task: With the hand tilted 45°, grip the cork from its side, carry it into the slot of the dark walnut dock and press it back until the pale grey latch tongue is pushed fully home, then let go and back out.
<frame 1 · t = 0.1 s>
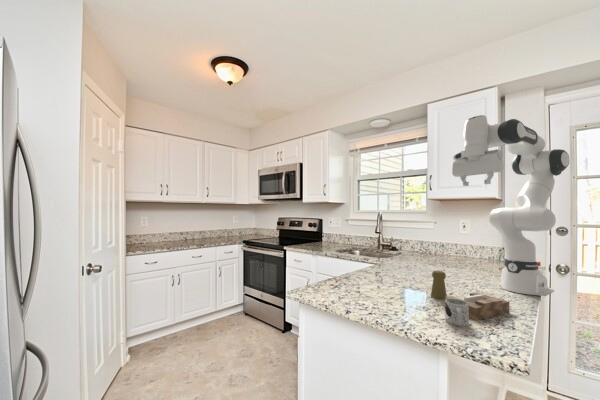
hand: (476, 185, 116), 48 cm above the worktop, tool pointing down, fingers open, 8 cm apart
walnut dock: (476, 310, 99), on the worktop
latch tongue: (474, 302, 100), point 3 cm above the worktop, slide at 3.0 cm
mug: (457, 324, 86), on the worktop
cork: (438, 297, 114), on the worktop
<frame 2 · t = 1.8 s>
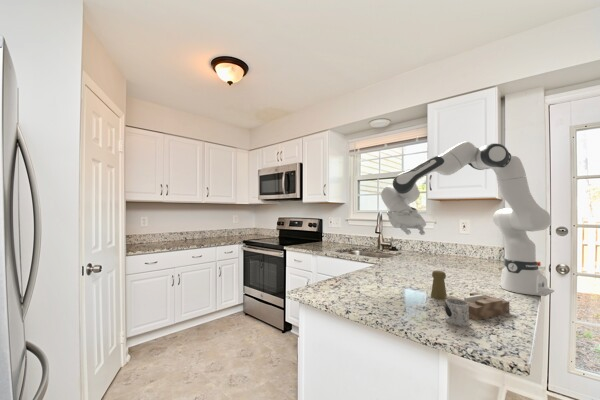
hand: (416, 234, 126), 26 cm above the worktop, tool tilted 45°, fingers open, 8 cm apart
nothing on the worktop moved.
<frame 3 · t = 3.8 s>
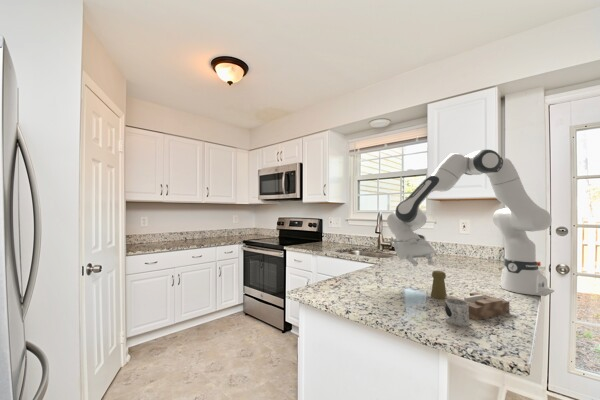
hand: (424, 264, 121), 12 cm above the worktop, tool tilted 45°, fingers open, 8 cm apart
nothing on the worktop moved.
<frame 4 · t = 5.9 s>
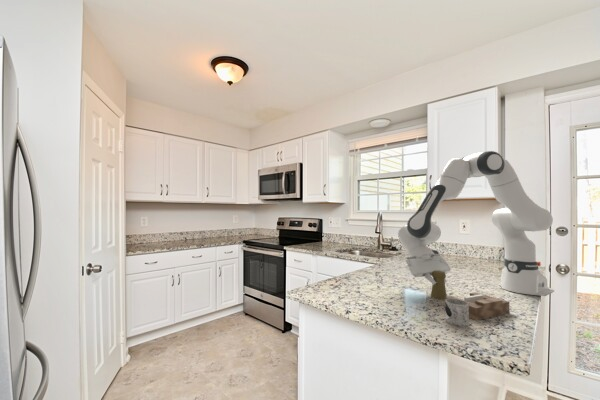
hand: (440, 283, 113), 6 cm above the worktop, tool tilted 45°, fingers closed on cork, 4 cm apart
cork: (438, 297, 114), on the worktop, touching gripper
everything else where it was.
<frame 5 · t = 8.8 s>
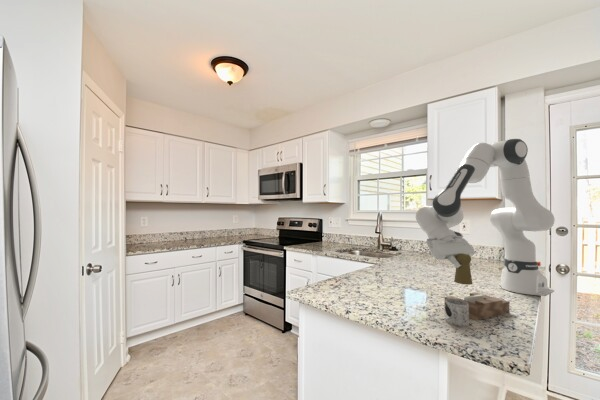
hand: (464, 266, 103), 15 cm above the worktop, tool tilted 45°, fingers closed on cork, 4 cm apart
cork: (463, 282, 104), point 9 cm above the worktop, touching gripper
everything else where it was.
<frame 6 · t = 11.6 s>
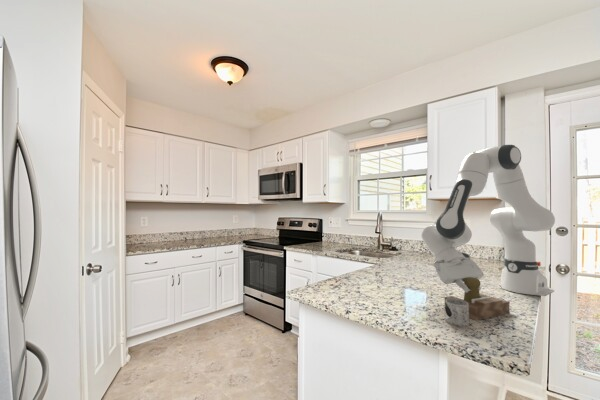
hand: (473, 291, 100), 7 cm above the worktop, tool tilted 45°, fingers closed on cork, 4 cm apart
latch tongue: (481, 304, 97), point 3 cm above the worktop, slide at 0.3 cm, touching cork
cork: (472, 307, 100), on the worktop, touching gripper, latch tongue
everything else where it was.
when the fingers open (7 cm above the worktop, at t = 11.7 s): cork stays where it is, on the worktop.
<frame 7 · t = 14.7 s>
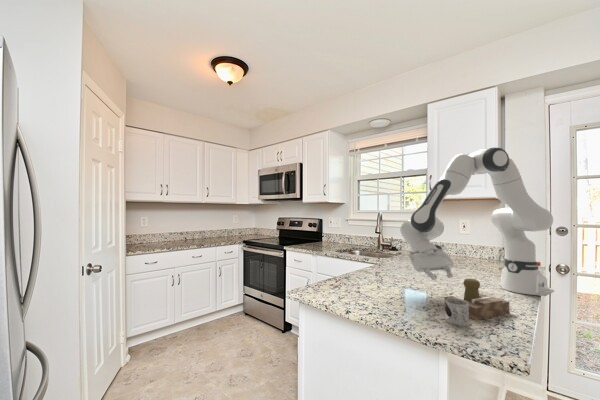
hand: (443, 278, 112), 8 cm above the worktop, tool tilted 45°, fingers open, 8 cm apart
latch tongue: (481, 304, 97), point 3 cm above the worktop, slide at 0.3 cm
cork: (471, 309, 100), on the worktop
everything else where it was.
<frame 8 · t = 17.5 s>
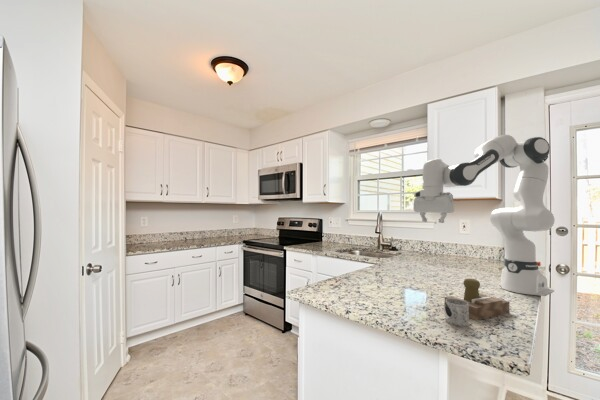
hand: (432, 222, 127), 31 cm above the worktop, tool pointing down, fingers open, 8 cm apart
nothing on the worktop moved.
at the end: cork 0.3 cm from the target spot, on the worktop; cork tilted 0°; latch tongue slide at 0.3 cm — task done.
